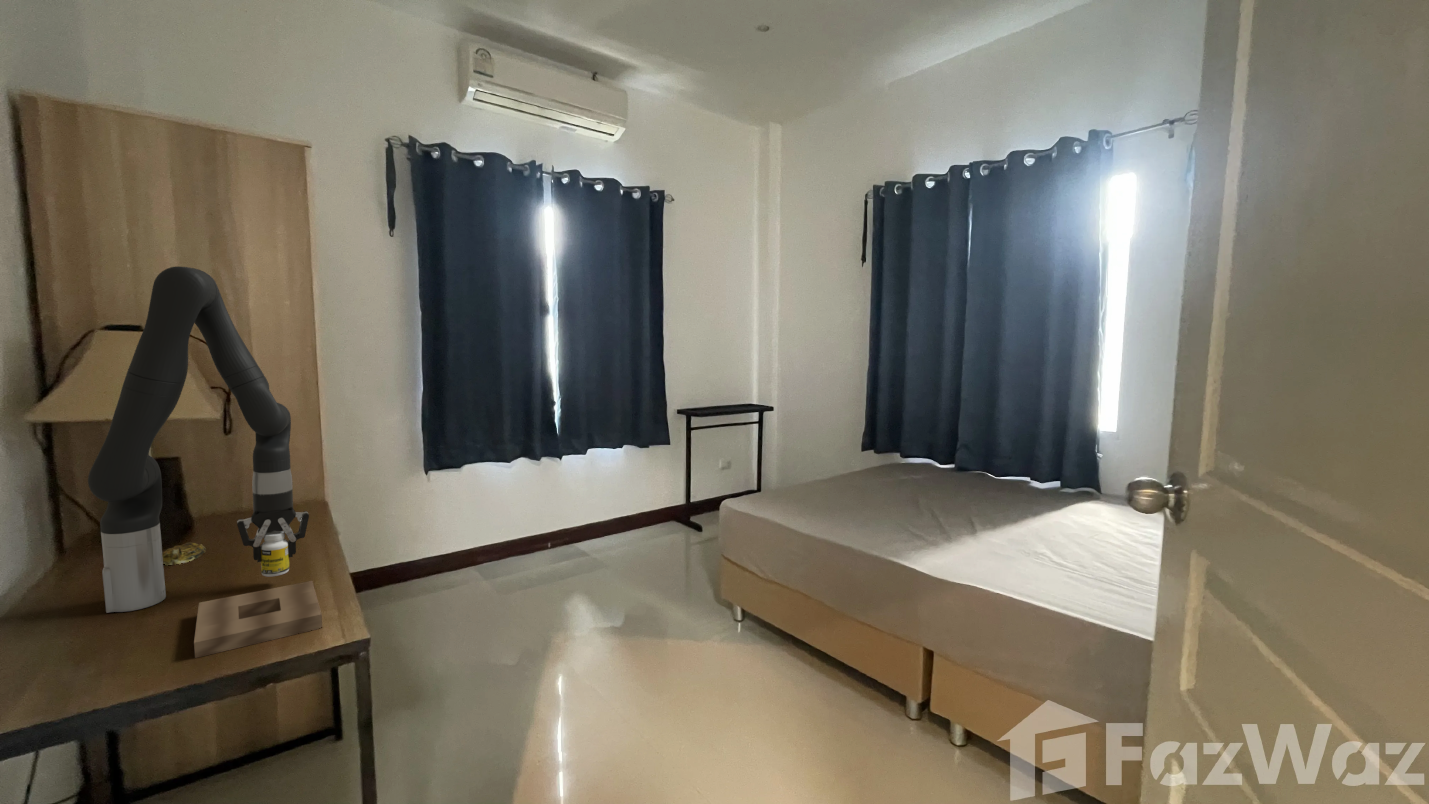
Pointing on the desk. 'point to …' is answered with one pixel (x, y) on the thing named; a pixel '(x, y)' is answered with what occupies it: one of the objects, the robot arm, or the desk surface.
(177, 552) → the noodle cake
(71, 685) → the desk surface
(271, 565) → the supplement bottle
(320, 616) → the socket board
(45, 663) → the desk surface
